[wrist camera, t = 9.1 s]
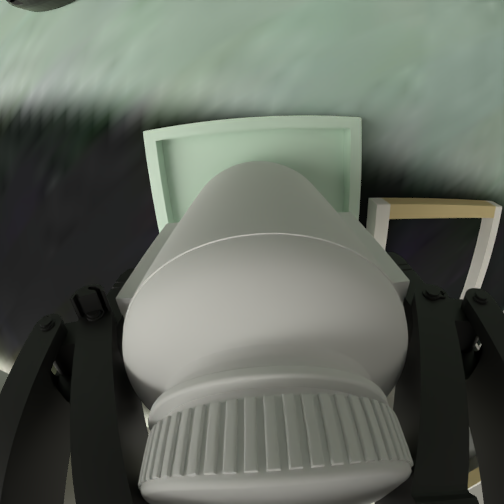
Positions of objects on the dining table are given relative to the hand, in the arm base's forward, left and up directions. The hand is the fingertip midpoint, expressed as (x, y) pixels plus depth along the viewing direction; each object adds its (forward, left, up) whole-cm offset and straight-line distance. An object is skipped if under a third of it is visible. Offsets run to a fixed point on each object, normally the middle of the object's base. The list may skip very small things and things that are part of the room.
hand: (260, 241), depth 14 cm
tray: (0, 0, -4) cm, 4 cm away
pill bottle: (0, 0, -3) cm, 3 cm away
